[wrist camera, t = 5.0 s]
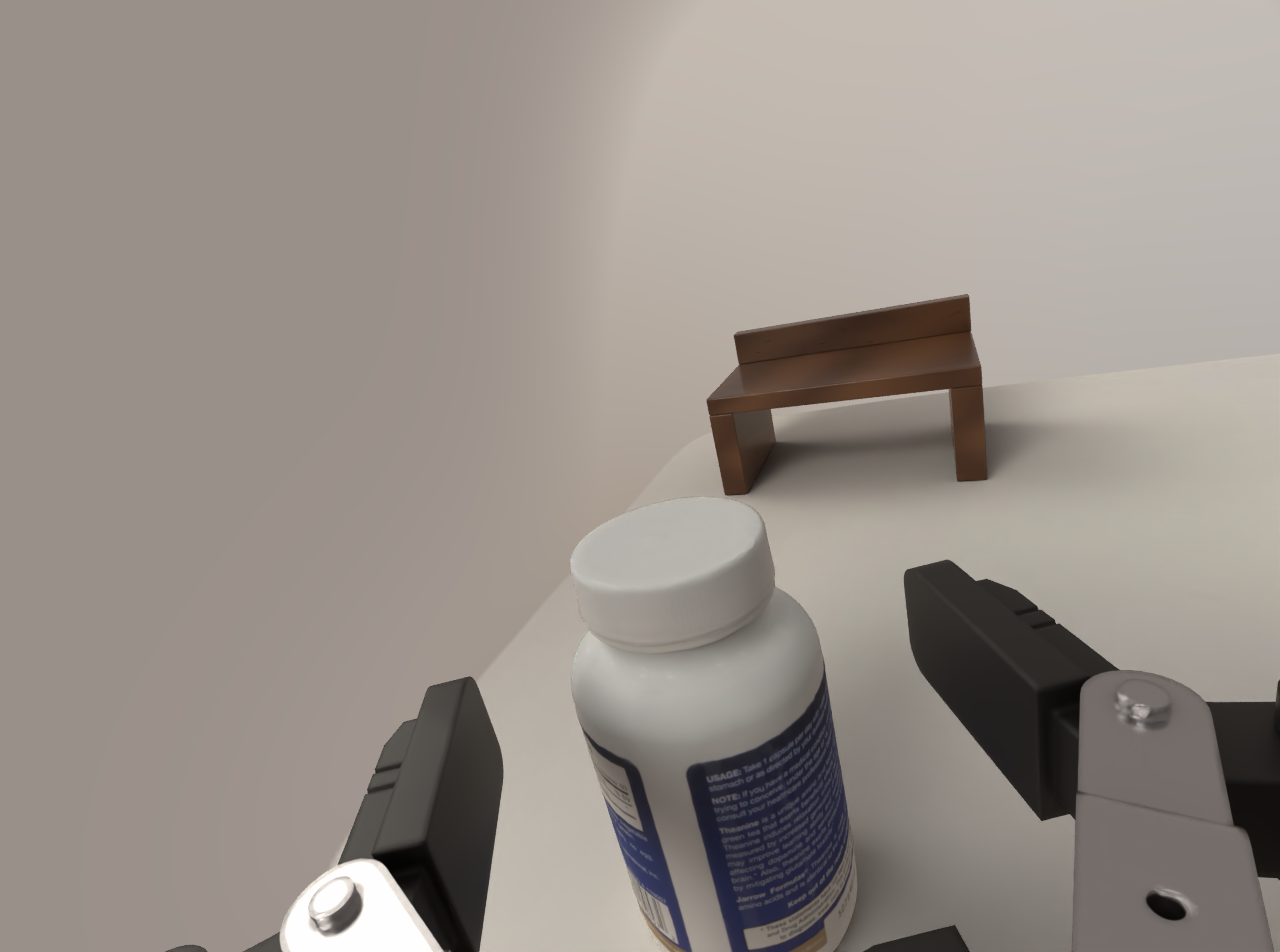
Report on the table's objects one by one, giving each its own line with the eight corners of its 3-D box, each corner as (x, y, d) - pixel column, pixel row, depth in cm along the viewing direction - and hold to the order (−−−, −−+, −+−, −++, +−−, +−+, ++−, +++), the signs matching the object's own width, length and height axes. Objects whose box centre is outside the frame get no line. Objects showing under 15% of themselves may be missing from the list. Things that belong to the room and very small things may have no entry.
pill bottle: (860, 803, 18) (810, 470, 15) (861, 1023, 13) (788, 605, 10) (670, 790, 20) (589, 493, 17) (612, 979, 15) (484, 615, 12)
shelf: (724, 495, 40) (699, 365, 37) (756, 443, 48) (737, 331, 45) (987, 479, 34) (979, 324, 31) (975, 422, 42) (968, 293, 39)
